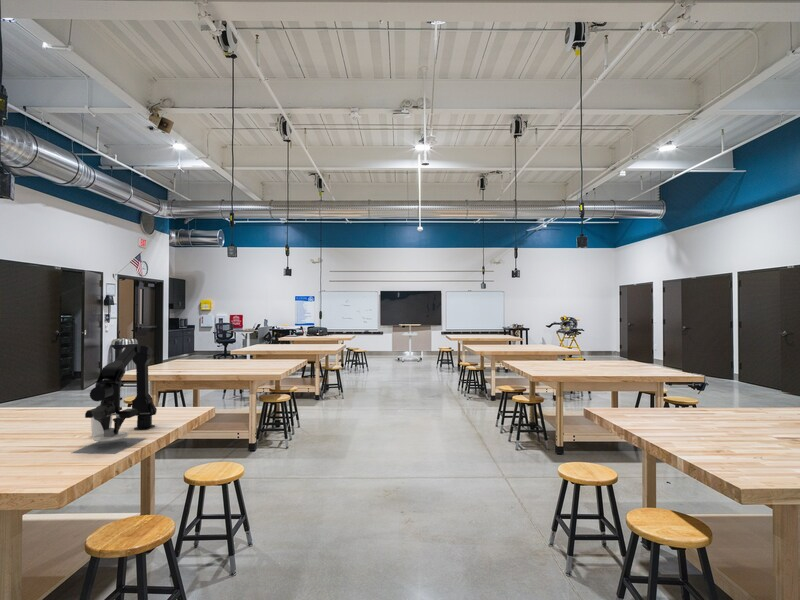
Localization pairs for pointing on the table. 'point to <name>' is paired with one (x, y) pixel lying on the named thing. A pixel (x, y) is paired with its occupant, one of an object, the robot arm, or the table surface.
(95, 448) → the charcoal mat
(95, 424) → the white cup
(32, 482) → the table surface
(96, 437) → the lid
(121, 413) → the robot arm
